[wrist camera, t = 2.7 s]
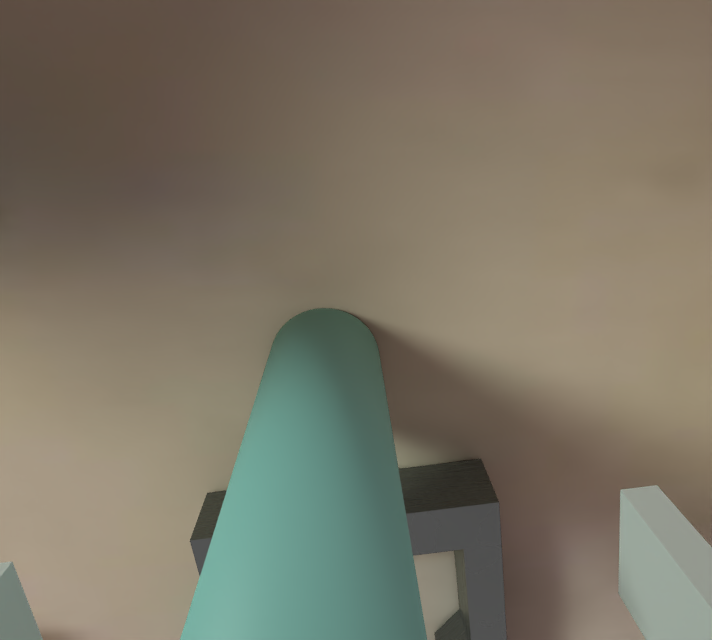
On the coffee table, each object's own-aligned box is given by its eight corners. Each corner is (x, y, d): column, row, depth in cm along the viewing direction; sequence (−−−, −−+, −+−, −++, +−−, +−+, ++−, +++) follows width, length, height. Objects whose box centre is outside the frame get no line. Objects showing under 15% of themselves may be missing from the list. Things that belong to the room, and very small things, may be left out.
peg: (261, 316, 22) (93, 718, 7) (372, 301, 22) (439, 677, 7) (280, 415, 24) (173, 925, 9) (385, 401, 24) (463, 892, 9)
